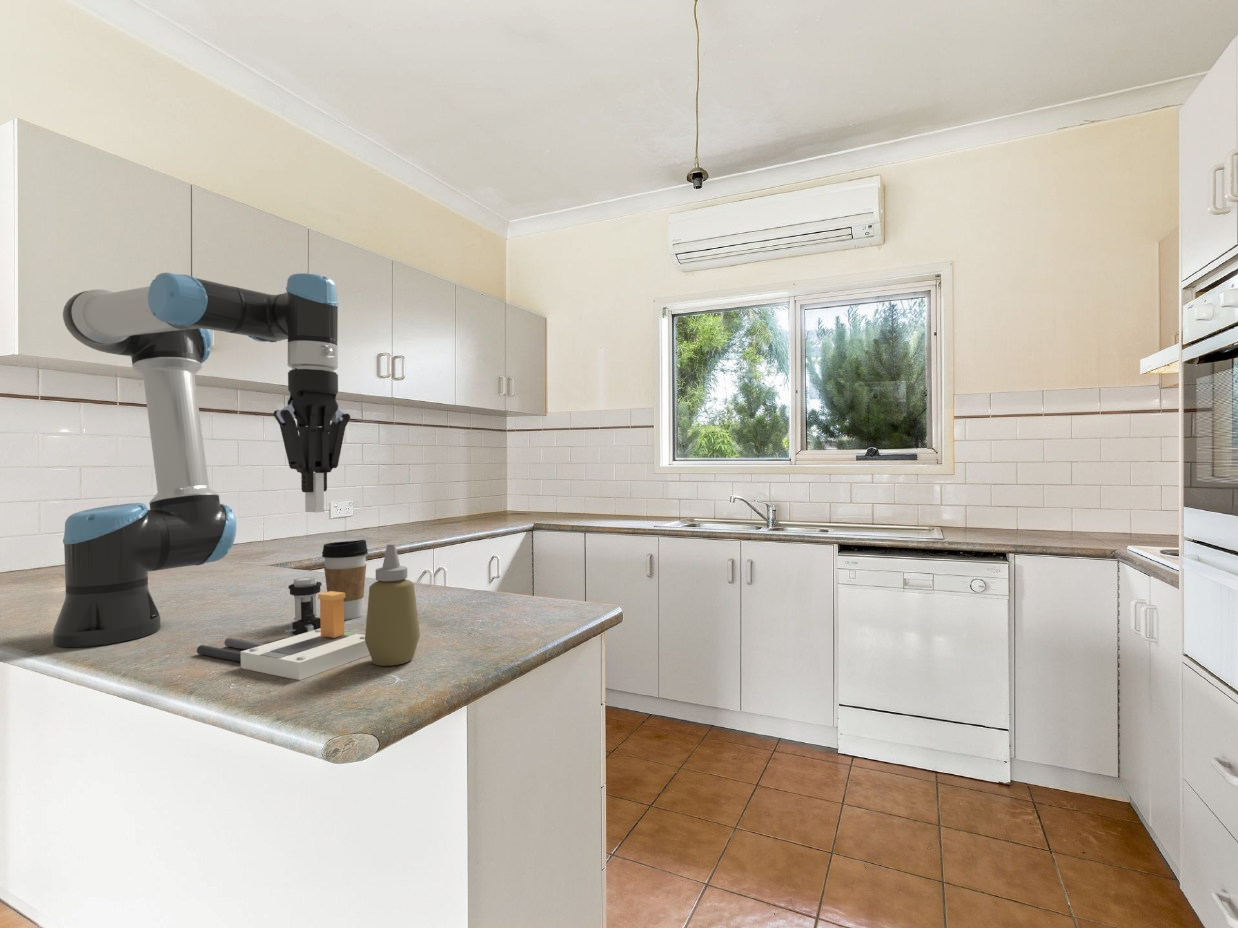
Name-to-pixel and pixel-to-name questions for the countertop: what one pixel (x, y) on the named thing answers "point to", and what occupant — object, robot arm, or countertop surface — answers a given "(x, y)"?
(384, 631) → the squeeze bottle
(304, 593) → the push button
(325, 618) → the lever
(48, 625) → the countertop surface
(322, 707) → the countertop surface
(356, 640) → the panel
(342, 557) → the coffee cup
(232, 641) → the cord
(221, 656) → the cord
